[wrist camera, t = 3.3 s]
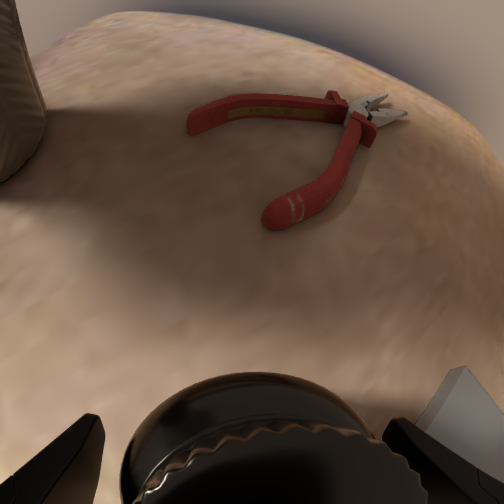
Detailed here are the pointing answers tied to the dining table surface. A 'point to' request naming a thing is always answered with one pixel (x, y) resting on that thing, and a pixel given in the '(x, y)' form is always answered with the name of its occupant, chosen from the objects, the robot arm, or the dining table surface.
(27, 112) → the lamp
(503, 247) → the dining table surface
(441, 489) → the robot arm
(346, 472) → the supplement bottle
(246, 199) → the dining table surface
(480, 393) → the grey flat square slab
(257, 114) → the pliers
